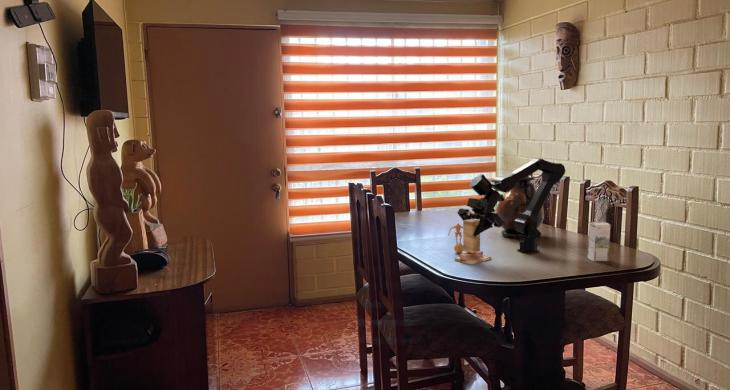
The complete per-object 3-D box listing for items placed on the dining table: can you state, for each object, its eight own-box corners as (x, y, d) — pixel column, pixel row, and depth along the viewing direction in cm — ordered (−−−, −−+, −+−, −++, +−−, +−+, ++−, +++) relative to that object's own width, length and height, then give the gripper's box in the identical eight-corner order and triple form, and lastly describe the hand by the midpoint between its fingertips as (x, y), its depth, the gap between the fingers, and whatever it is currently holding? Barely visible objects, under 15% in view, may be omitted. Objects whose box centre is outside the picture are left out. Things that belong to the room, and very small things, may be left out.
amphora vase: (553, 238, 246) (555, 177, 243) (514, 242, 238) (515, 179, 235) (523, 230, 266) (524, 173, 262) (486, 233, 258) (487, 175, 255)
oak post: (471, 249, 211) (471, 219, 210) (480, 251, 208) (480, 220, 206) (463, 251, 209) (463, 220, 207) (472, 253, 205) (472, 222, 204)
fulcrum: (475, 255, 216) (475, 248, 216) (491, 259, 210) (491, 251, 210) (454, 260, 209) (454, 253, 208) (470, 264, 203) (470, 256, 202)
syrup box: (601, 258, 209) (603, 221, 207) (609, 261, 203) (610, 223, 201) (587, 258, 209) (588, 221, 207) (594, 262, 203) (595, 224, 201)
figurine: (449, 254, 219) (449, 225, 218) (447, 250, 225) (447, 222, 224) (470, 253, 219) (470, 224, 218) (467, 250, 225) (467, 222, 224)
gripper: (460, 188, 215) (441, 219, 210) (498, 192, 200) (478, 225, 195) (473, 205, 221) (455, 235, 216) (511, 210, 206) (492, 243, 201)
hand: (469, 234), depth 207 cm, fingers closed on oak post, 4 cm apart
